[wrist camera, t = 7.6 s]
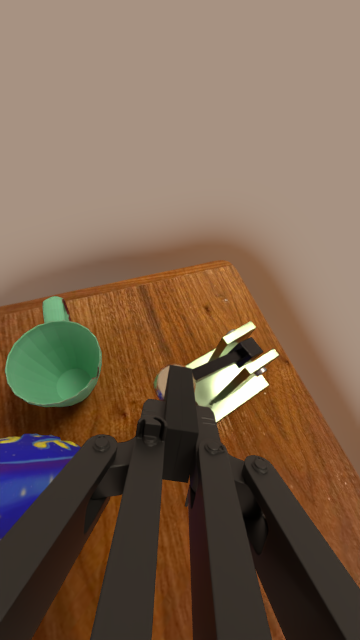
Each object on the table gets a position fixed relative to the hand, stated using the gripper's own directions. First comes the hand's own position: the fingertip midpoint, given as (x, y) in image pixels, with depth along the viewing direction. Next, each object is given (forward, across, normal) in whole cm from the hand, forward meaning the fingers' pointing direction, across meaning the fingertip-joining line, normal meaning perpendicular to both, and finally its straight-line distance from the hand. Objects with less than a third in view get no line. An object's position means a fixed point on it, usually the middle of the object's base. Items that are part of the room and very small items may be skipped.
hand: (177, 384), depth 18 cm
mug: (+20, -14, -11) cm, 26 cm away
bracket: (+21, +8, -9) cm, 24 cm away
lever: (+9, +3, -3) cm, 10 cm away
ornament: (+10, -12, -20) cm, 26 cm away
